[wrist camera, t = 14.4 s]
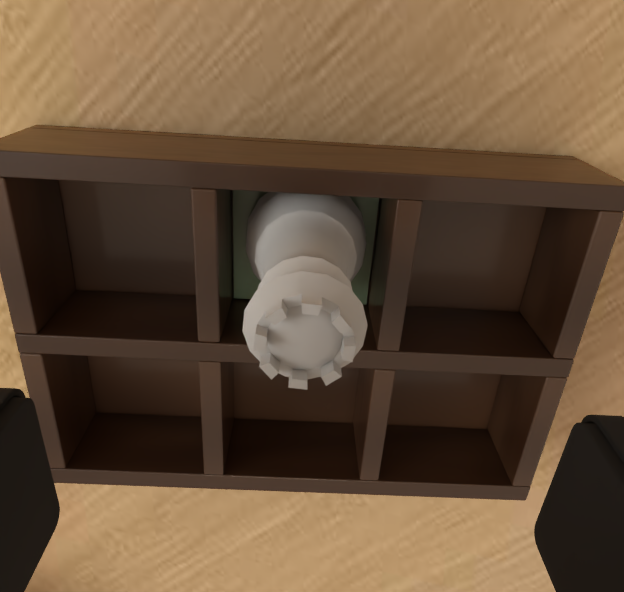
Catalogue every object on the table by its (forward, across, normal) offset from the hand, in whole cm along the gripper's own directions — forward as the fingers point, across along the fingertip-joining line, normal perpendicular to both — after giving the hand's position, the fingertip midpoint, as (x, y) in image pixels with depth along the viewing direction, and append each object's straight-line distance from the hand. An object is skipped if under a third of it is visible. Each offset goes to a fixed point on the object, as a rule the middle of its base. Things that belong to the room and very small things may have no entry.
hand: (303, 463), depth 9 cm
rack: (+13, 0, +4) cm, 13 cm away
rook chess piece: (+12, 0, 0) cm, 12 cm away
